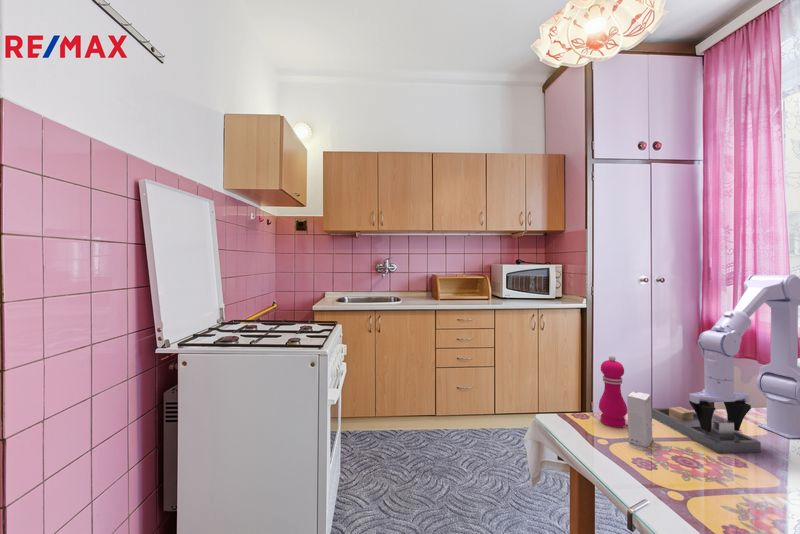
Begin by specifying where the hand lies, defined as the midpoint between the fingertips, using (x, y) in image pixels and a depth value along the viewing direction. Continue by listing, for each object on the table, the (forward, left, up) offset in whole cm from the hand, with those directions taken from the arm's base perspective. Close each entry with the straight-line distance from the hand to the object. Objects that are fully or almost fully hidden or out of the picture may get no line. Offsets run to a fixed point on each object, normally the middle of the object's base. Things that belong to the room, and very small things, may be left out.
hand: (719, 429), depth 91 cm
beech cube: (0, -12, -3) cm, 12 cm away
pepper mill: (+20, -13, -4) cm, 24 cm away
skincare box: (+20, -2, -4) cm, 20 cm away
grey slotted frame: (0, -6, -3) cm, 7 cm away
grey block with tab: (0, 0, -3) cm, 4 cm away
